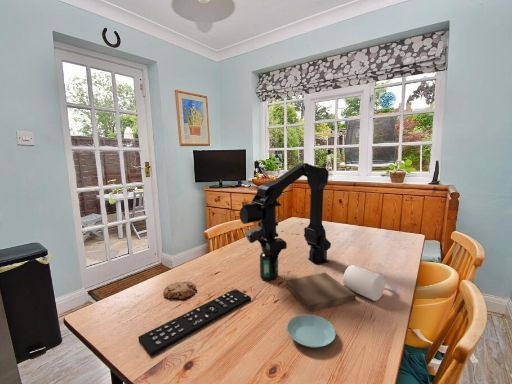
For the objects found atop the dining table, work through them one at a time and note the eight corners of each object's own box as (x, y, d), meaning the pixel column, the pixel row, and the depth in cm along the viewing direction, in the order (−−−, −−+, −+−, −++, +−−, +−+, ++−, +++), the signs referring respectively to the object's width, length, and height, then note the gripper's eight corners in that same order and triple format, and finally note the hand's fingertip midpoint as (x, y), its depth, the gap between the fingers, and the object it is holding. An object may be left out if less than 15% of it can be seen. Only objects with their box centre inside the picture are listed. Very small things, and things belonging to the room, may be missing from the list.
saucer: (326, 320, 70) (326, 313, 70) (342, 353, 59) (342, 344, 58) (283, 322, 70) (283, 315, 70) (291, 356, 58) (291, 347, 58)
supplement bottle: (268, 283, 91) (267, 251, 89) (256, 276, 96) (255, 246, 95) (282, 277, 95) (281, 246, 94) (269, 271, 101) (269, 241, 99)
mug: (371, 305, 77) (372, 279, 76) (342, 291, 85) (342, 268, 84) (390, 291, 84) (392, 268, 83) (362, 280, 92) (363, 259, 91)
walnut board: (325, 277, 94) (325, 272, 94) (355, 300, 79) (355, 294, 79) (285, 285, 89) (285, 280, 89) (309, 311, 74) (309, 305, 74)
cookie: (162, 289, 89) (161, 281, 89) (193, 283, 93) (192, 275, 93) (164, 304, 80) (163, 295, 80) (198, 296, 84) (198, 288, 84)
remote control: (251, 301, 81) (251, 295, 81) (151, 358, 59) (150, 350, 59) (236, 292, 87) (235, 287, 86) (138, 342, 64) (138, 335, 64)
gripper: (239, 216, 99) (241, 254, 101) (255, 228, 81) (256, 275, 84) (266, 213, 102) (267, 250, 105) (287, 224, 85) (287, 269, 87)
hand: (268, 260), depth 95 cm, fingers closed on supplement bottle, 7 cm apart
